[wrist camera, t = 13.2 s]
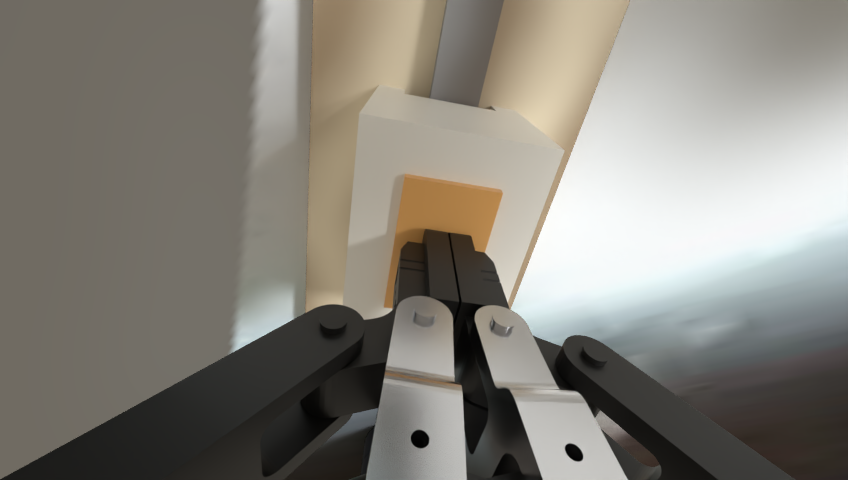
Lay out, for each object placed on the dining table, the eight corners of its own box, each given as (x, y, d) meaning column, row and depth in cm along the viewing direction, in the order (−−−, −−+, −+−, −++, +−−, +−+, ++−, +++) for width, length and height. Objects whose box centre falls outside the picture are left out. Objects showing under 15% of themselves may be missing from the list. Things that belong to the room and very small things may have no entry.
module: (515, 110, 16) (568, 153, 10) (471, 260, 20) (493, 350, 14) (379, 84, 15) (357, 115, 10) (361, 244, 19) (339, 332, 14)
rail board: (671, -141, 13) (710, -168, 11) (481, 365, 26) (486, 389, 24) (326, -237, 12) (311, -284, 10) (308, 345, 24) (299, 369, 23)
